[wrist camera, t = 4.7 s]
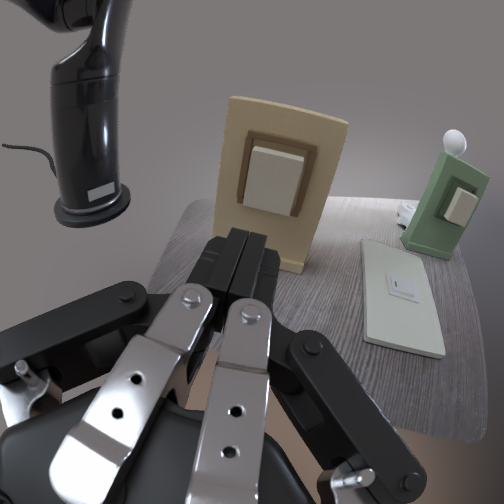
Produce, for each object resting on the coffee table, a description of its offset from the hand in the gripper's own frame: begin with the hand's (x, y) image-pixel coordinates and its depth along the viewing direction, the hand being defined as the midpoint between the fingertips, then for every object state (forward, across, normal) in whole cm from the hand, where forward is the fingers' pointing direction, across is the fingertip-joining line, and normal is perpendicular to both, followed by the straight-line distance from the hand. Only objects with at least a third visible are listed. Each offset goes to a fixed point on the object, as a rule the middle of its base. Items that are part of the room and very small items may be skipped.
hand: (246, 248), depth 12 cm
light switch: (+14, -17, +12) cm, 25 cm away
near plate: (+14, 0, +12) cm, 18 cm away
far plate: (+26, -26, +12) cm, 39 cm away
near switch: (+12, 0, +4) cm, 12 cm away
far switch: (+24, -27, +4) cm, 36 cm away
